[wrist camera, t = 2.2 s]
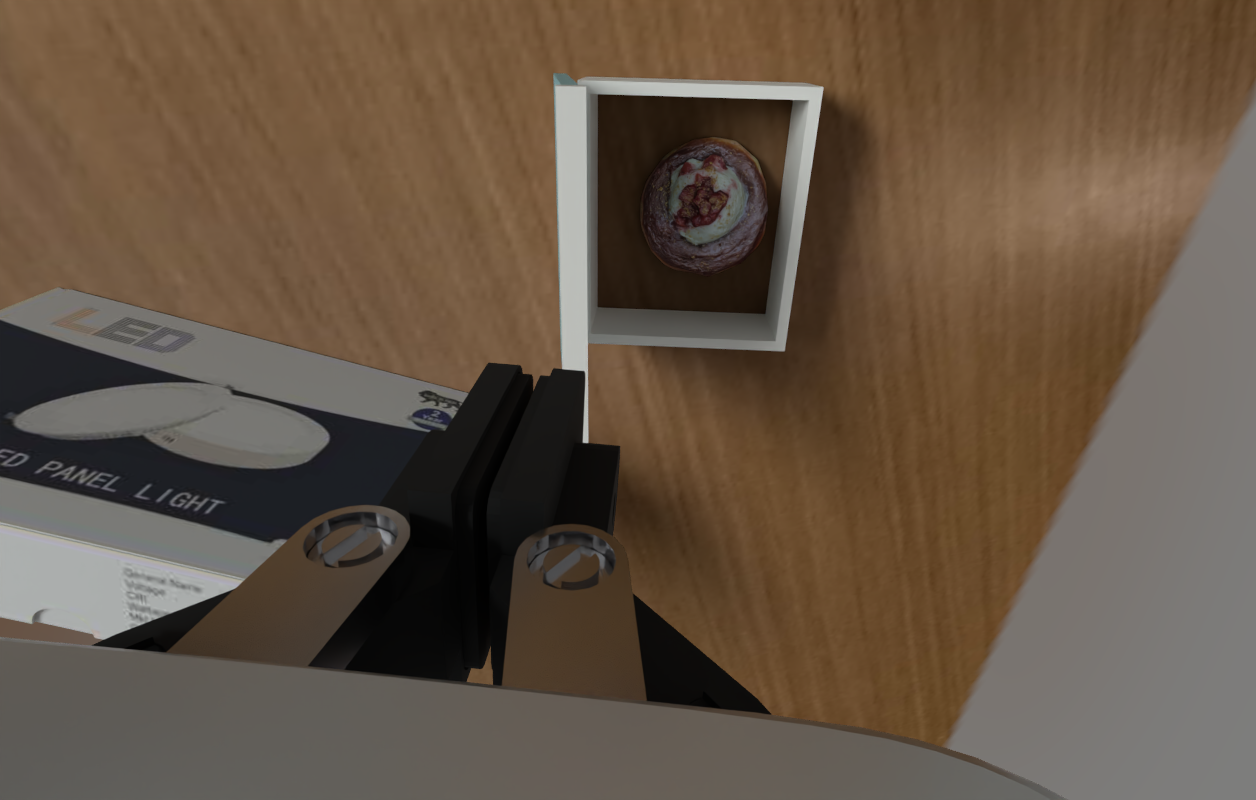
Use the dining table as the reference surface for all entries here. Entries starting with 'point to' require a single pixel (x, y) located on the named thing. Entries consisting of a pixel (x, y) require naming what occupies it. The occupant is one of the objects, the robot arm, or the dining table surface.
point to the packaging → (175, 455)
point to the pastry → (705, 206)
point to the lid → (572, 225)
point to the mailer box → (773, 325)
